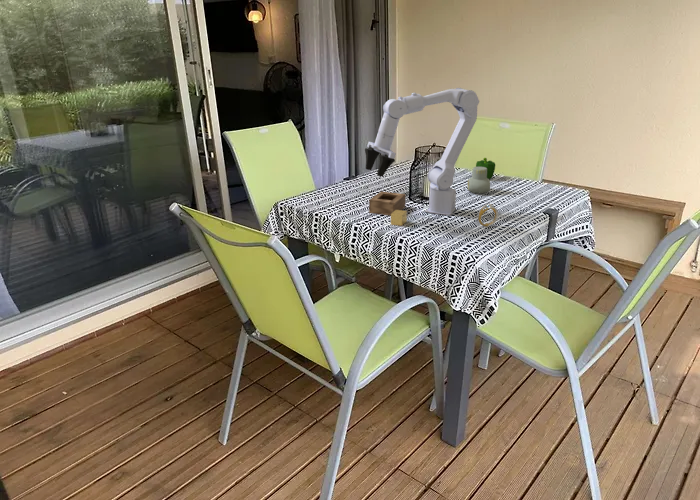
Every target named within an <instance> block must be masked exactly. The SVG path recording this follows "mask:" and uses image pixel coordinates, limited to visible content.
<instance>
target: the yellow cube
mask: <svg viewBox="0 0 700 500" xmlns="http://www.w3.org/2000/svg"><path fill="white" fill-rule="evenodd" d="M407 214H408V211H407V210H403V209H402V210H395V211H394V212H393V213H391V216H390V225H391V226H400V227H402V226H403V225H405V223H407V219H408V215H407Z"/></svg>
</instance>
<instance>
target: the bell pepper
mask: <svg viewBox="0 0 700 500" xmlns="http://www.w3.org/2000/svg"><path fill="white" fill-rule="evenodd" d="M475 167H485V168H487V178H488V179H489V180H491V179H492V178H493V176H494V174H495V170H496V163H495V162H494V161H492V160H488V159H487V157H484V158H483V159H482V160H479V161H476V163H475Z"/></svg>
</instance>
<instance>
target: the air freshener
mask: <svg viewBox="0 0 700 500" xmlns="http://www.w3.org/2000/svg"><path fill="white" fill-rule="evenodd" d="M490 181H491V179H488V178H487V168H485V167H476V166H474V167H472V172H471V177H470V178H468V179H467V190H468V191H469V192H470V193H472V194H486V193H487V192H490V189H491V182H490Z"/></svg>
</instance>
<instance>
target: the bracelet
mask: <svg viewBox="0 0 700 500" xmlns="http://www.w3.org/2000/svg"><path fill="white" fill-rule="evenodd" d="M488 210H492V211H493V213H494V216H493V220H492V221H491V222H490V223H487V222H486V223H483V221H482V217H483V215H484V214H485V212H487V211H488ZM498 217H499V212H498V209H497V208H496V207H495V205H494V204H492V203H486V204H484V205H483V206H482V207H481V208H480V209H479V211H478V215H477V221H478V223H479V224H480V225H481V226H483V227H486V228H489V227H491V226H492V225H494V224H495V223H496V222H497V220H498Z"/></svg>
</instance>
